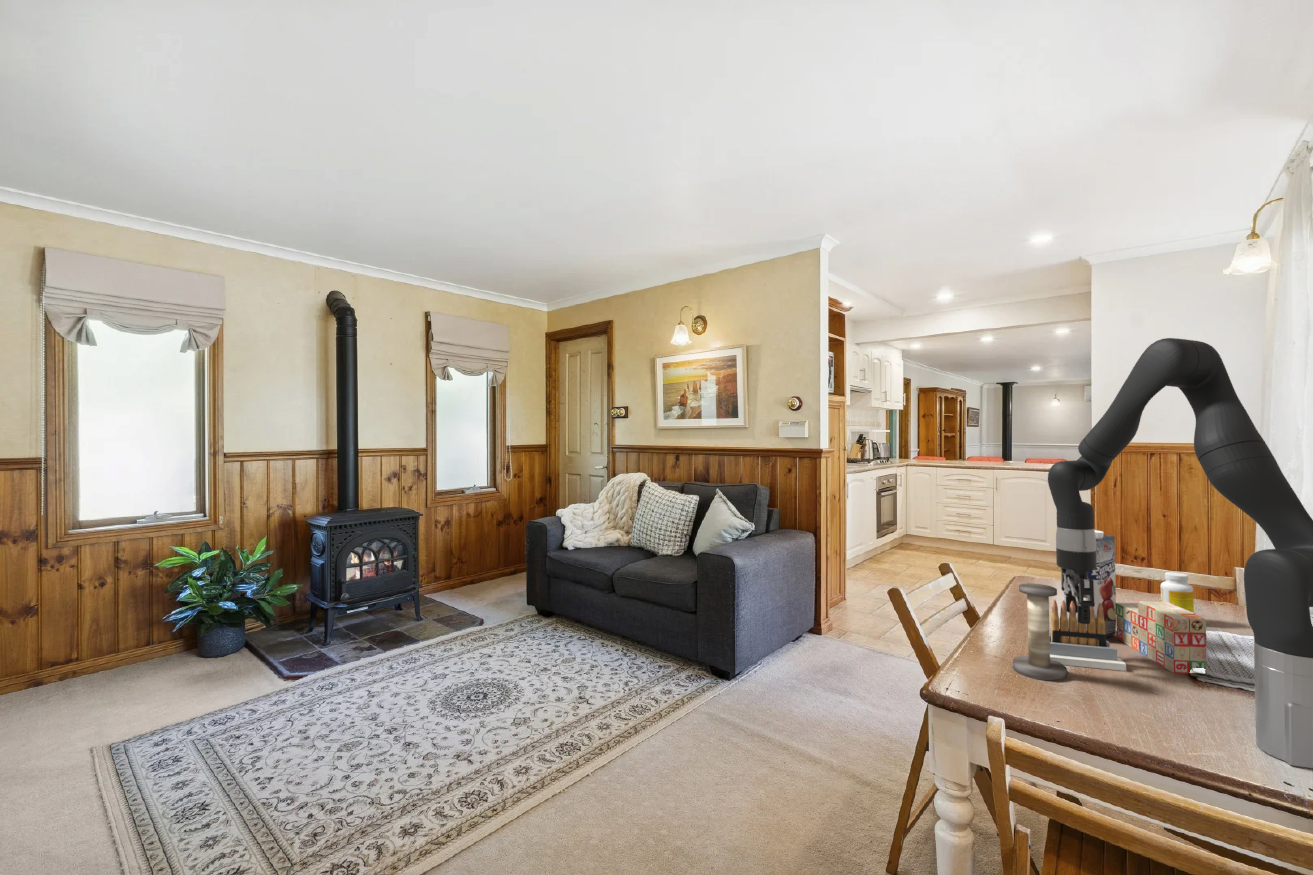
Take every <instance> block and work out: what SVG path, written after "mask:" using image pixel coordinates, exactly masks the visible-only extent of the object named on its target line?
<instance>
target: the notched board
mask: <svg viewBox="0 0 1313 875" xmlns="http://www.w3.org/2000/svg"><path fill="white" fill-rule="evenodd" d="M1106 643H1107V647H1099V646H1088V645H1076V644H1065V643H1054V642H1050V659H1051V660H1054V661H1057V662H1059V663H1061V664H1063V665H1064V666H1071V667H1072V666H1073V667H1081V668H1091V669H1099V670H1100V669H1101V670H1111V671H1119V672H1120V671H1122V672H1127V664H1126V662H1124V660H1122V659H1121V658H1120V657H1119V656H1118V648H1117V647H1110V645H1111V644H1110V642H1109V640H1106Z"/></svg>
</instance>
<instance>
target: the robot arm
mask: <svg viewBox="0 0 1313 875" xmlns="http://www.w3.org/2000/svg"><path fill="white" fill-rule="evenodd" d="M1166 387H1172V388H1173V387H1175V388H1178V389H1179V390H1180V391H1181V393H1183V395H1184V396H1185V398H1186V399H1187V401H1188V403H1189V405H1190V406H1191V409H1192V411H1193V413H1194V417H1195V428H1194V436H1193V449H1194V453H1195V456H1196V459H1197V461H1198V462H1199V465H1200V466H1201V468H1202V470H1203V471H1204V474H1205V476H1206V477H1207V480H1208V481H1209V483H1210V484H1211V485H1212V487H1213V488H1215V490H1216V491H1217V492H1219V494H1220V495H1222V496H1223V497H1224V499H1226V500H1228V501H1229V502H1230V503H1231V504H1233V505H1234V506H1236V507H1237V508H1238V509H1240V510H1241V511H1242V512H1243V513H1245V514H1246V515H1247V516H1249V517H1250V518H1251V519H1252V520H1254V521H1255V523H1256V524H1258V526H1260V528H1261V529H1262V530H1263V531H1264V533H1265V535H1266V536H1267V538H1269V540H1270V542H1271V544H1272V545H1273V547H1274V548H1271V549H1270V548H1268V549H1262V550H1258V551H1255V552H1254V553H1252V554H1251V555H1250V556H1249V557H1248V559H1247V560H1246V562H1245V565H1244V571H1243V587H1244V596H1245V597H1244V598H1245V606H1246V607H1245V608H1246V617H1247V620H1248V624H1249V626H1250V629H1251V631H1252V632H1253V646H1254V649H1253V651H1254V657H1253V658H1254V660H1253V662H1254V667H1253V668H1254V710H1255V711H1254V714H1255V715H1254V716H1255V745H1256V746H1257V747H1258V748H1259V749H1260V750H1261V751H1263V752H1265V753H1266V754H1268V755H1270V756H1272V757H1274V758H1277V759H1279V760H1282V761H1284V762H1286V763H1287V764H1289V765H1290V766H1293V767H1302V768H1309V769H1313V623H1312V619H1311V618H1312V616H1311V609H1310V608H1313V518H1312V517H1311V516H1310V514H1309V513H1308V511H1307V509H1306V508H1305V507H1304V505H1303V504H1302V502H1301V499H1300V498H1299V497H1298V495H1297V494H1296V492H1295V490H1294V489H1293V487H1292V486H1291V484H1290V483H1289V481H1288V480H1287V478H1286V477H1285V475H1284V474H1283V472H1282V469H1281V468H1280V465H1279V463H1278V462H1277V460H1276V458H1275V456H1274V454H1273V453H1272V451H1271V449H1270V448H1269V446H1268V444H1267V443H1266V441H1265V440H1264V438H1263V437H1262V435H1261V434H1260V432H1259V431H1258V429H1257V428H1256V425H1255V424H1254V422H1253V421H1252V419H1251V417H1250V415H1249V413H1248V412H1247V410H1246V409H1245V406H1244V405H1243V403H1242V402H1241V400H1240V398H1239V396H1238V395H1237V392H1236V390H1235V388H1234V385H1233V383H1232V381H1231V378H1230V376H1229V373H1228V371H1227V368H1226V365H1225V364H1224V361H1223V359H1222V357H1221V355H1220V354H1219V352H1218V350H1217V349H1216V348H1215V347H1213V346H1212V345H1210V344H1209V343H1206V342H1204V341H1199V340H1193V339H1186V338H1178V337H1177V338H1174V337H1166V338H1161V339H1159V340H1156V341H1154V342H1152V343H1150V345H1148V347H1146V349H1145V350H1144V351H1143V353H1142V354H1141V355H1140V356H1139V358H1138V360H1137V361H1136V363H1135V364H1134V366H1133V367H1132V369H1131V371H1130V372H1129V374H1128V376H1127V378H1126V379H1125V381H1124V382H1123V384H1122V386H1121V388H1119V391H1118V392H1117V394H1116V396H1115V397H1114V400H1113V401H1112V402H1111V404H1110V405H1109V407H1108V408H1107V410H1106V411H1105V413H1104V414H1103V415H1102V416H1101V418H1100V419H1099V420H1098V421H1097V423H1095V425H1093V427H1092V428H1091V429H1090V430H1089V432H1087V434H1086V435H1085V436H1084V438H1083V439H1081V441H1080V443H1079V444H1078V454H1080V457H1079V458H1078V459H1077V460H1061V461H1057V462H1056V463H1053V464H1052V465H1051V466H1050V468H1049V471H1048V473H1047V484H1048V487H1049V490H1050V491H1049V492H1050V494H1051V497H1052V501H1053V504H1054V506H1055V510H1056V533H1055V549H1056V550H1055V555H1056V556H1055V557H1056V558H1055V559H1056V566H1057V567H1059V568H1060V570H1061V572H1060V573H1061V588H1060V589H1061V591H1062V592H1063V596H1064V595H1065V597H1066V608H1067V612H1068V613H1070V604H1071V602H1072V601H1073V602H1074V604H1075V609H1076V613H1077V614H1078V622H1079V623H1081V624H1090V607H1094V605H1095V603H1094V584H1093V583H1094V581H1093V579H1089V578H1088V577H1087V571H1089V570H1090V571H1092V570H1095V569H1096V568H1097V557H1096V536H1095V531H1094V530H1095V512H1094V511H1095V510H1094V507H1093V505H1092V504H1090V503H1089V502H1085V501H1083V500H1082V498H1081V494H1080V492H1082V491H1083V492H1084V491H1089V490H1091V489H1094V488H1095V487H1097V486H1098V485H1099V484H1100V483H1102V481H1104V479H1105V476H1106V475H1107V473H1108V471H1109V470H1110V467H1111V465H1112V463H1113V461H1114V460H1115V458H1117V457H1118V455H1120V454H1121V453H1122V451H1124V450H1125V448H1126V447H1128V445H1129V444H1130V443H1131V442H1132V441H1133V439H1134V437H1135V436H1136V434H1137V433H1138V429H1139V426H1140V423H1141V418H1142V416H1143V411H1144V410H1145V408H1146V406H1147V405H1148V404H1149V403H1150V401H1151V400H1152V399H1153V398H1154V397H1155V396H1156V395H1157V394H1158V393H1160V392H1161V391H1162V390H1163V389H1164V388H1166ZM1084 598H1086V601H1085V600H1084Z"/></svg>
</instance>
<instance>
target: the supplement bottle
mask: <svg viewBox="0 0 1313 875" xmlns="http://www.w3.org/2000/svg"><path fill="white" fill-rule="evenodd" d="M1164 577H1165V581H1163V582H1161V583H1160V602H1168V603H1171V604H1173V605H1175V606H1178V607H1180V608H1183V609H1185V610H1188V611H1190V612H1193V613H1195V609H1194V607H1195V605H1194V588H1193V586H1192V585H1191V584H1189V583H1188V580H1189V575H1188V574H1186V573H1181V572H1174V571H1167V572H1165V573H1164Z"/></svg>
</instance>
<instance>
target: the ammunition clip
mask: <svg viewBox="0 0 1313 875" xmlns="http://www.w3.org/2000/svg"><path fill="white" fill-rule="evenodd" d="M1059 613H1060V614H1059ZM1077 622H1078V621H1077V618H1076V609H1075V604H1074V602H1073V601H1072V602H1071V604H1070V613H1069V629H1068V617H1067V608H1066V604H1065V601H1064V599H1063V600H1062V601H1061V605H1060V612H1059V607H1058V604H1057V601H1056V599H1054V600H1053V602H1052V604H1051V616H1050V642H1054V643H1065V644H1076V645H1088V646H1099V647H1107V643H1106V641H1107V637H1106V634H1105V621H1104V612H1103V607H1102V604H1101V603H1099V605H1098V608H1097V620H1096V622H1095V616H1094V608H1093V607H1090V624H1087V631H1086V624H1081V623H1079V622H1078V630H1077Z"/></svg>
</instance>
